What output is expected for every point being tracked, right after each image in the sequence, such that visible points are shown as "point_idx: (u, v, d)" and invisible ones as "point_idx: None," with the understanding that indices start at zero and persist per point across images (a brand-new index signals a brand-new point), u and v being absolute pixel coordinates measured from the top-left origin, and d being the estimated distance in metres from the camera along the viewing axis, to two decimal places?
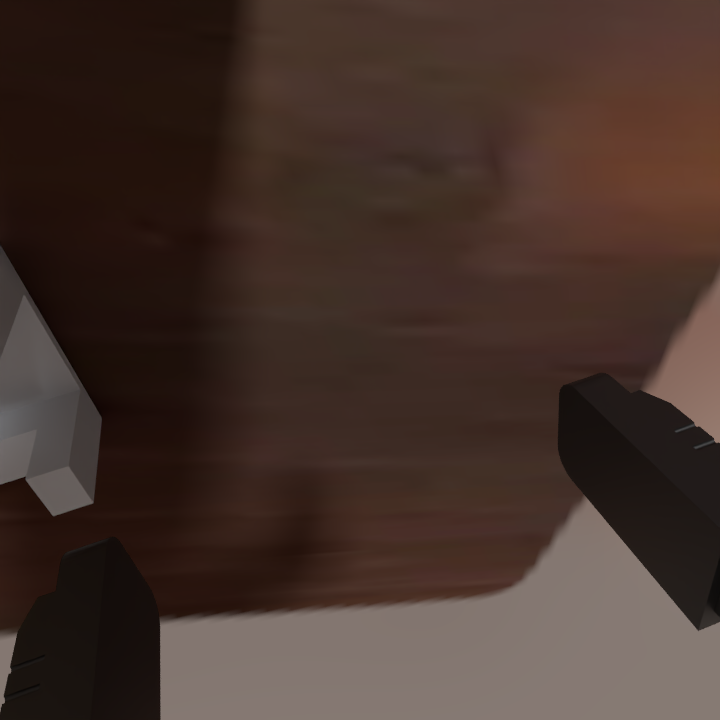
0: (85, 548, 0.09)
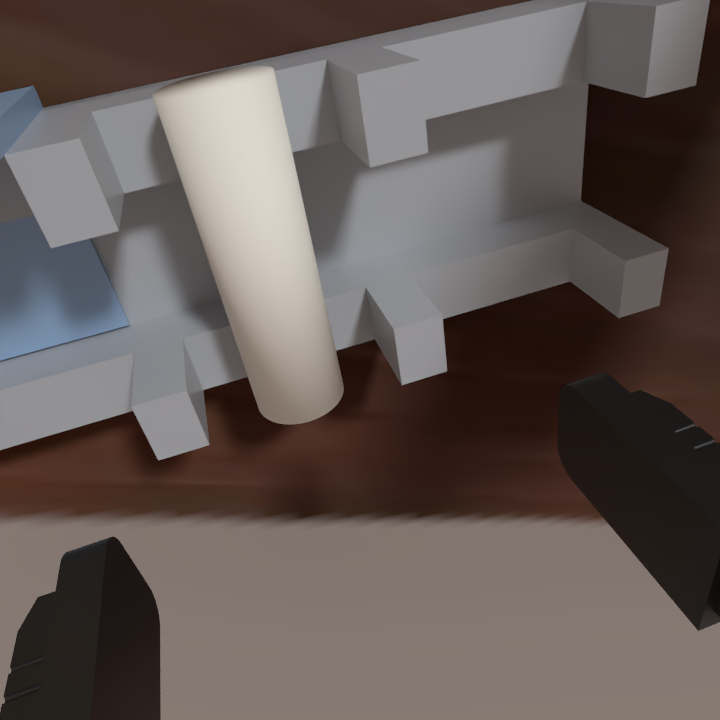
0: (85, 548, 0.09)
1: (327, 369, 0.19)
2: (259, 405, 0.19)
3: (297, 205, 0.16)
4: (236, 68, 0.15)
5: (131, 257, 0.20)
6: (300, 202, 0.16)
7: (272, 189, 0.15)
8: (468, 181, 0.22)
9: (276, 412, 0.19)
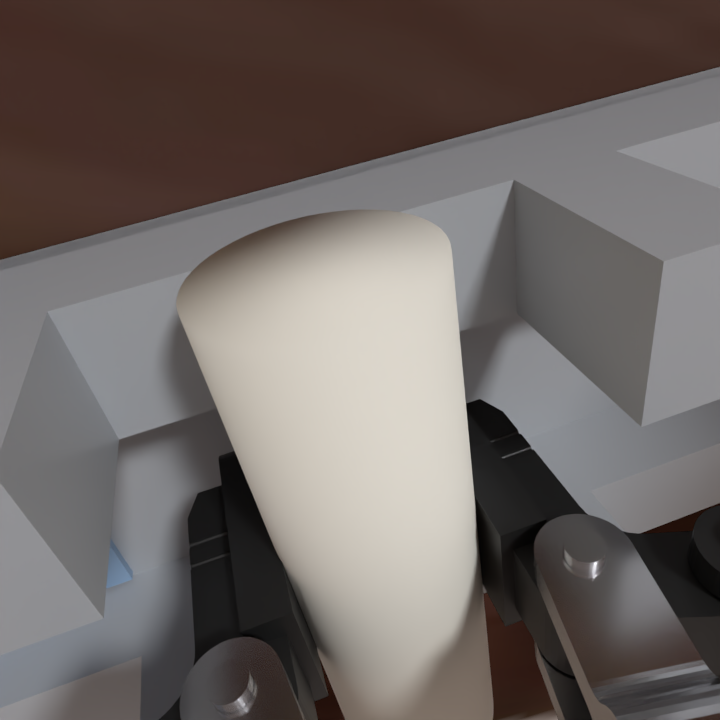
0: None
1: (483, 702, 0.10)
2: None
3: (470, 484, 0.08)
4: (346, 214, 0.07)
5: (135, 485, 0.12)
6: (471, 471, 0.08)
7: (437, 488, 0.07)
8: None
9: None
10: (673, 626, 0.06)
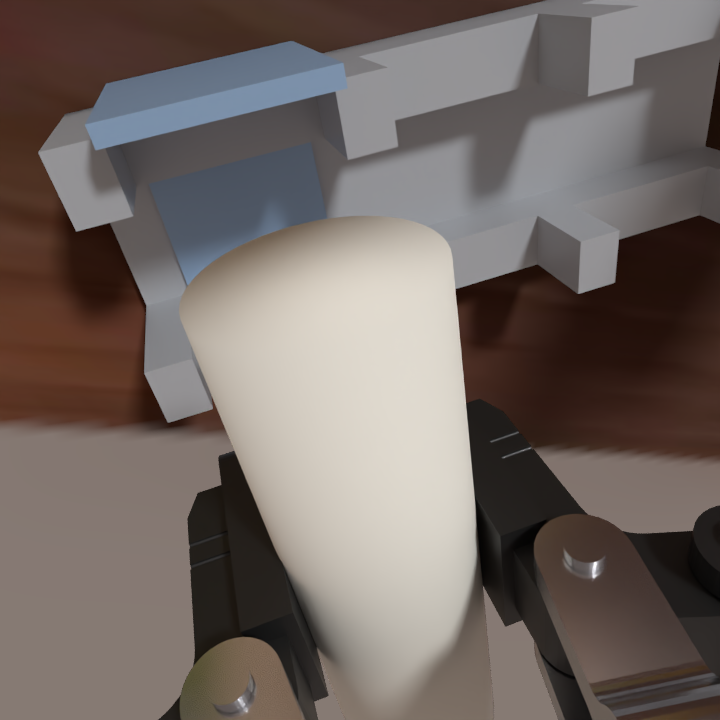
0: None
1: (483, 705, 0.10)
2: None
3: (470, 489, 0.08)
4: (347, 220, 0.07)
5: (344, 190, 0.23)
6: (472, 475, 0.08)
7: (438, 493, 0.07)
8: (616, 127, 0.25)
9: None
10: (673, 626, 0.06)
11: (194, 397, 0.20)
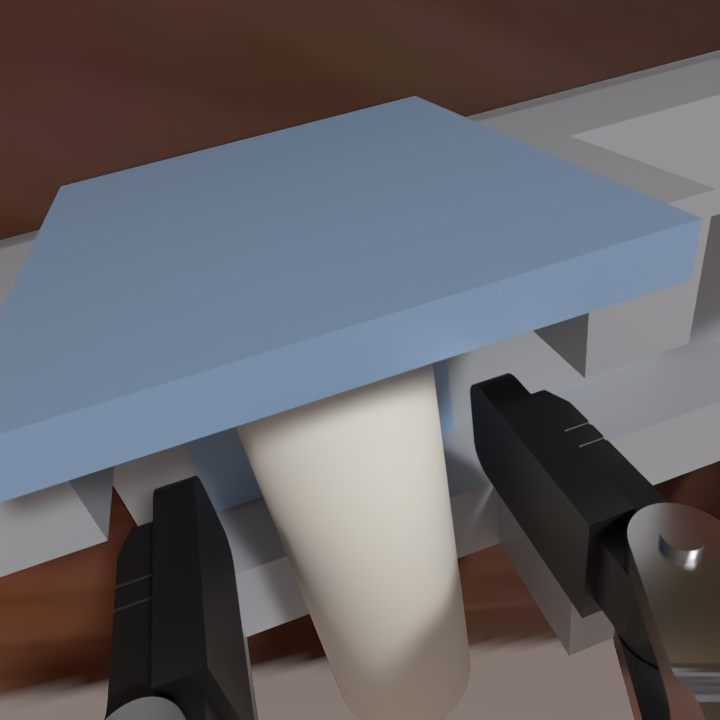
0: (174, 484, 0.10)
1: (458, 657, 0.12)
2: (343, 695, 0.12)
3: (439, 450, 0.09)
4: None
5: None
6: (441, 439, 0.09)
7: (407, 449, 0.08)
8: None
9: (374, 718, 0.12)
10: None
11: None
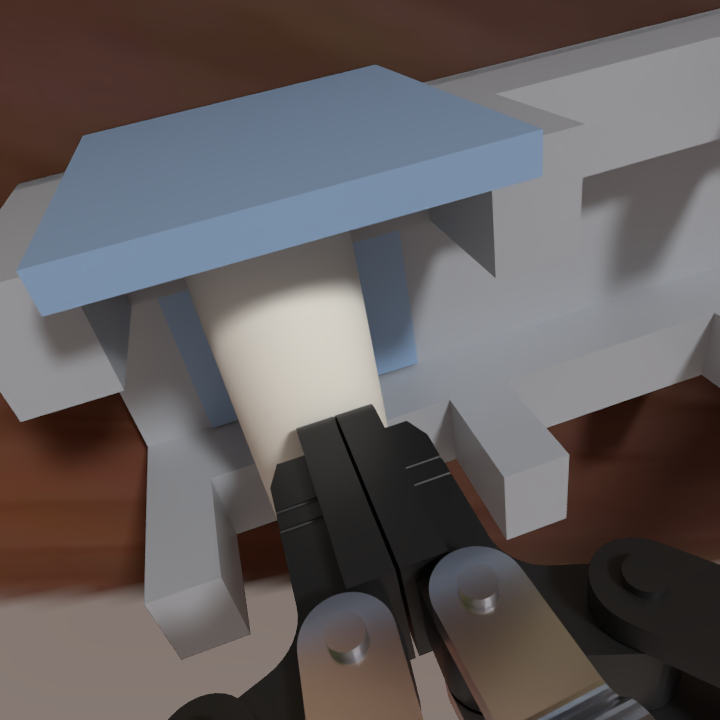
0: (314, 423, 0.10)
1: None
2: None
3: (356, 361, 0.11)
4: None
5: (439, 280, 0.16)
6: (363, 354, 0.11)
7: (315, 348, 0.10)
8: None
9: None
10: (554, 667, 0.06)
11: (223, 624, 0.13)
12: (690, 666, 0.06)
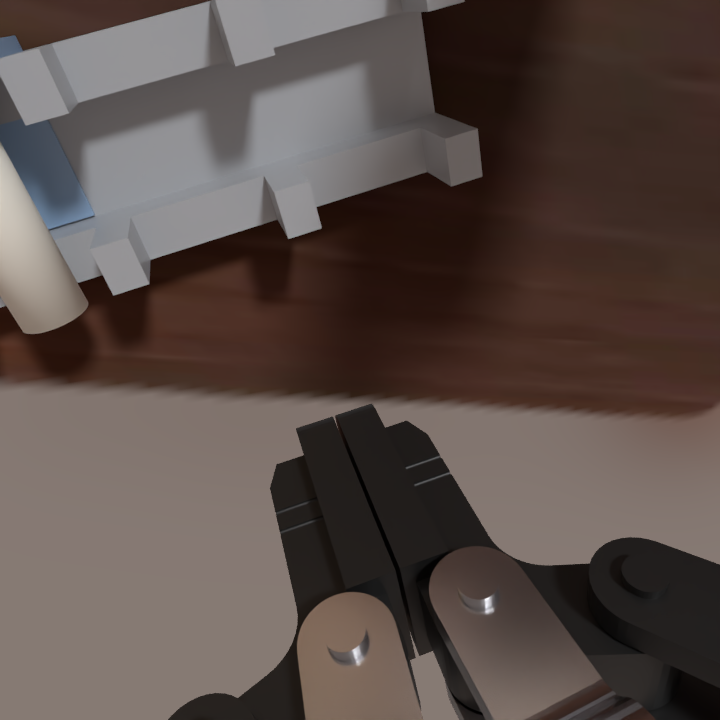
0: (314, 423, 0.10)
1: (59, 288, 0.25)
2: None
3: None
4: None
5: (92, 161, 0.27)
6: (2, 161, 0.23)
7: None
8: (340, 98, 0.29)
9: (26, 324, 0.25)
10: (554, 668, 0.06)
11: None
12: (690, 666, 0.06)
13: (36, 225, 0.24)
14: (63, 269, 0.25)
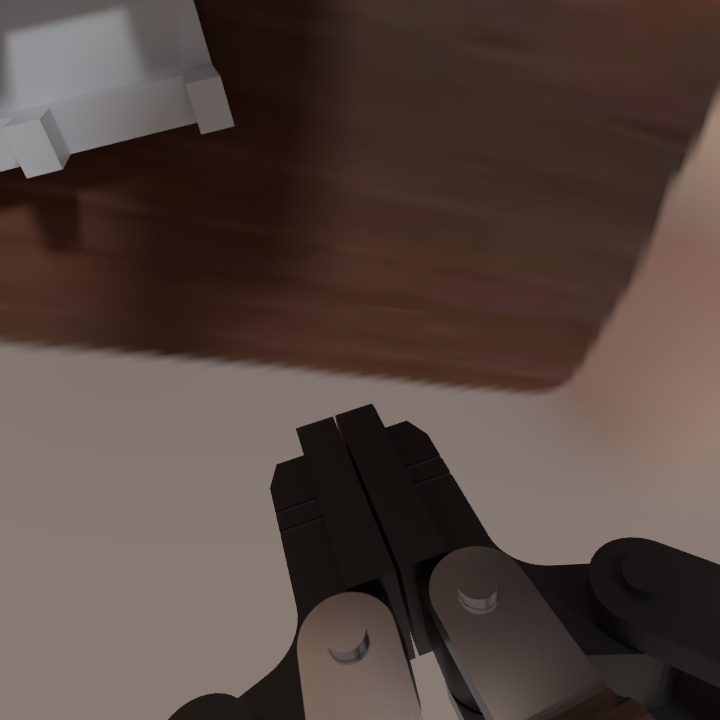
0: (315, 423, 0.10)
1: None
2: None
3: None
4: None
5: None
6: None
7: None
8: (104, 42, 0.29)
9: None
10: (554, 668, 0.06)
11: None
12: (690, 666, 0.06)
13: None
14: None
